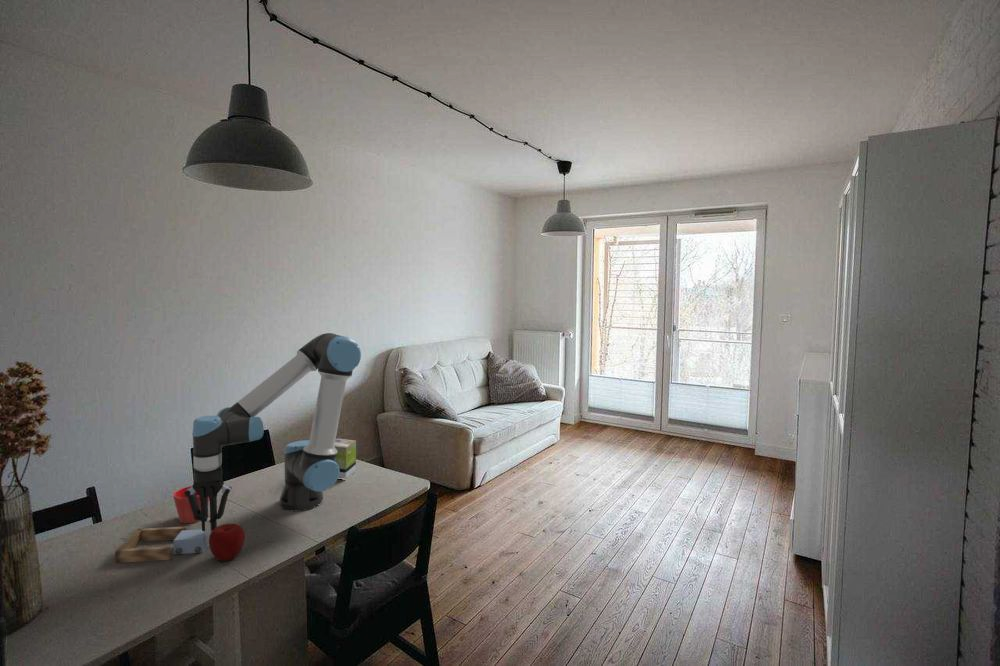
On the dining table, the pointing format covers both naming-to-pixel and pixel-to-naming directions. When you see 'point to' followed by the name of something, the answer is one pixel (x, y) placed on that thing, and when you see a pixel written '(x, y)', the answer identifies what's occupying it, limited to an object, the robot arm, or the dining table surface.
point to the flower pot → (185, 505)
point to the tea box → (345, 456)
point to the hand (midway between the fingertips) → (209, 540)
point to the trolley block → (190, 542)
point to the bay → (133, 554)
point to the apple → (226, 541)
